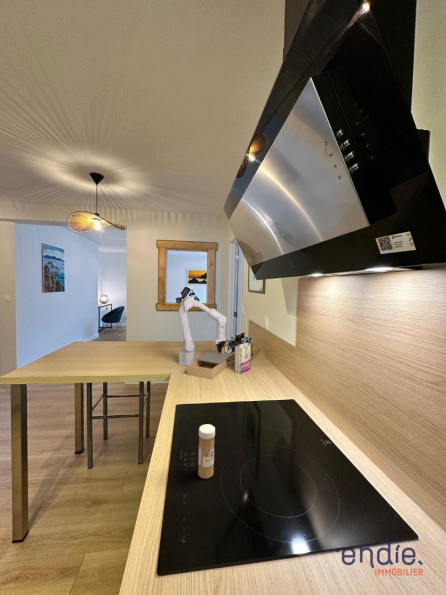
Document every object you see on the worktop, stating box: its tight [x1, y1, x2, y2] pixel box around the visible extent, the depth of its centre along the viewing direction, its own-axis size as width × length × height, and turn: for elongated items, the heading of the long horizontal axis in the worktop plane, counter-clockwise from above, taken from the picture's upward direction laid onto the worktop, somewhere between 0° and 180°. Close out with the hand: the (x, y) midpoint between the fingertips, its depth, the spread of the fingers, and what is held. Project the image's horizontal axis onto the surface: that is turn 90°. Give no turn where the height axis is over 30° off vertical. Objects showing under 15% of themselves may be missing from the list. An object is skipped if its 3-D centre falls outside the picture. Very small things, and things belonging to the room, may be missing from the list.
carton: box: [186, 358, 228, 380], centre depth 155 cm, size 16×22×6 cm
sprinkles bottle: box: [197, 423, 216, 479], centre depth 72 cm, size 5×5×13 cm
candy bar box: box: [234, 342, 252, 375], centre depth 157 cm, size 11×5×16 cm, turn 143°
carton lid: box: [194, 347, 234, 364], centre depth 164 cm, size 17×23×4 cm
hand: (220, 352), depth 173 cm, fingers closed on carton lid, 2 cm apart
